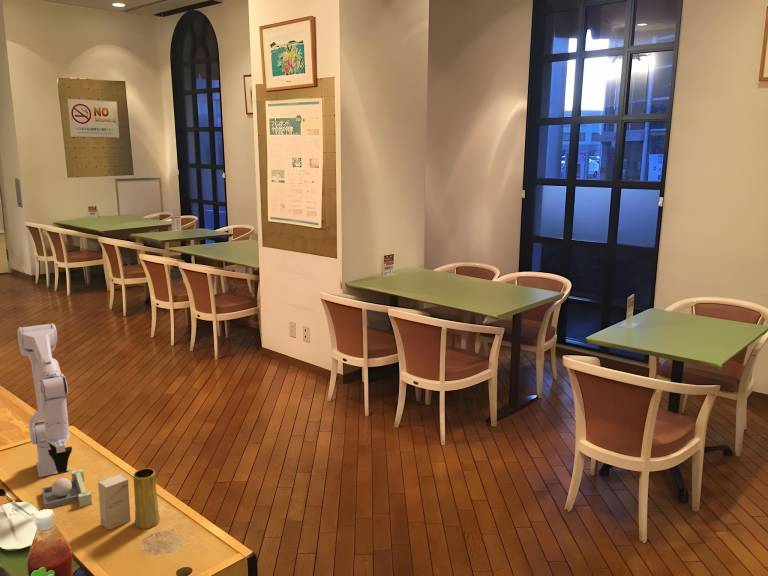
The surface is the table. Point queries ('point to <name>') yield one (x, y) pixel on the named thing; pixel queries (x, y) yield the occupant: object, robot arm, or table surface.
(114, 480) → the skincare box
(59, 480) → the ball
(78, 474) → the rail
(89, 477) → the table surface
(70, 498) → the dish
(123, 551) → the table surface
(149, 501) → the vase
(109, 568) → the table surface
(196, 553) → the table surface
